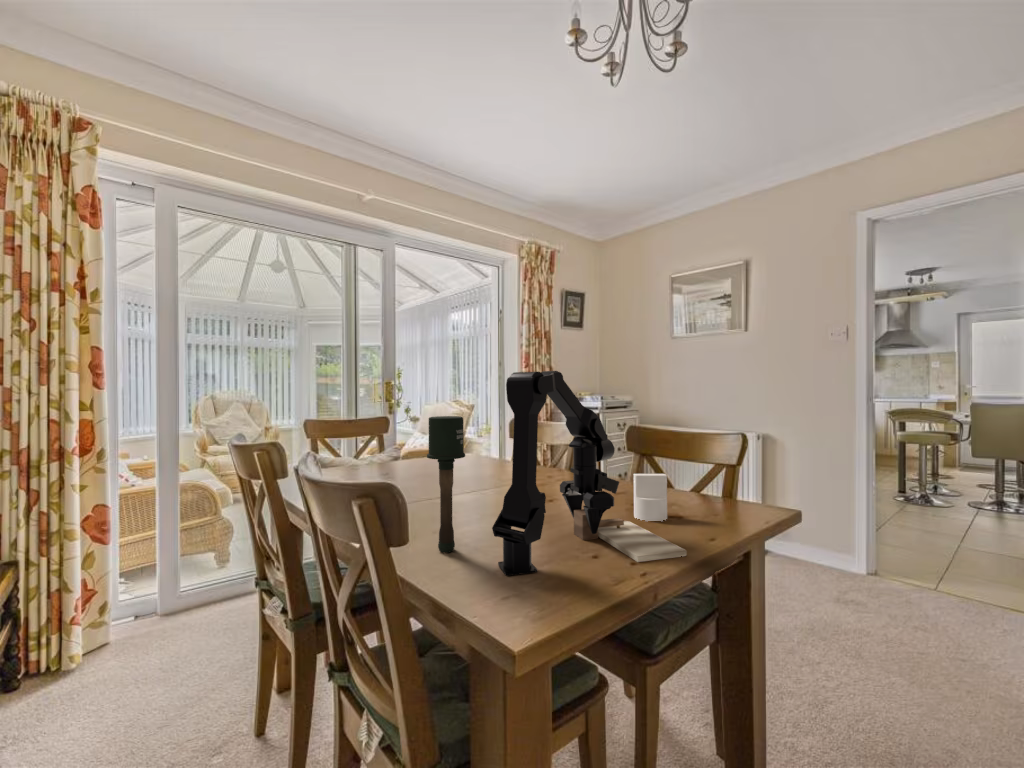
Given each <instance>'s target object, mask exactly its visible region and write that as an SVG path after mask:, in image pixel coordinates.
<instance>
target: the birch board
mask: <svg viewBox="0 0 1024 768" xmlns="http://www.w3.org/2000/svg"><path fill="white" fill-rule="evenodd" d="M598 538H600V539H601V540H602V541H604V542H606V543H607V544H609V545H610V546H611V547H614V548H615V549H616V550H618V551H620V552H621V553H623V554H624V555H626V556H627V557H629V558H630V559H632V560H634V561H635V562H636V563H640V562H641V563H642V562H648V561H655V560H665V559H672V558H673V559H674V558H680V557H681V556H682V557H686V556H687V554H688V551H687V550H686V549H685V548H683V547H680V546H679V545H677V544H675V543H672V542H671V541H669V540H667V539H665V538H663V537H661V536H660V535H658V534H655V533H654V532H651V531H649V530H648V529H645V528H643V527H641V526H639V525H637V524H635V523H633V522H631V521H630V520H624V525H620V528H617V526H609V527H599V528H598Z"/></svg>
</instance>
